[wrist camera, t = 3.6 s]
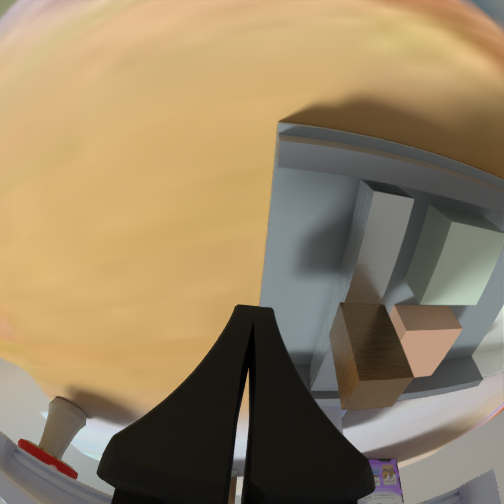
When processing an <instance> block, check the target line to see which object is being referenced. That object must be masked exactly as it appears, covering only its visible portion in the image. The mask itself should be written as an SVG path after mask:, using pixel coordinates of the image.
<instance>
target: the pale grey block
mask: <svg viewBox="0 0 504 504" xmlns="http://www.w3.org/2000/svg"><path fill="white" fill-rule="evenodd" d="M413 203H414V198H413V197H411V196H410V195H409V194H407V193H406V192H405V191H403V190H402V189H401V188H399V187H398V186H395V185H391V184H385V183H380V182H375V181H369V180H364V179H360V183H359V188H358V193H357V198H356V203H355V208H354V213H353V217H352V222H351V226H350V231H349V235H348V239H347V243H346V247H345V251H344V255H343V259H342V263H341V267H340V271H339V274H338V278H337V282H336V285H335V289H334V292H333V296H332V299H331V303H330V306H329V309H328V313H327V316H326V319H325V322H324V325H323V329H322V332H321V335H320V338H319V341H318V344H317V347H316V350H315V353H314V355H313V358H312V361H311V364H310V367H309V376H310V387H311V391H339V397H340V403H341V410H355V409H369V408H379V407H389V406H392V405H393V404H394V403H395V402H396V400H397V399H398V398H399V397H400V395H401V394H402V393H403V391H404V390H405V389H406V388H407V386H408V385H409V384H410V382H411V381H412V380H413V378H414V375H413V372H412V370H411V367H410V364H409V362H408V359H407V357H406V354H405V352H404V349H403V347H402V344H401V342H400V339H399V337H398V335H397V332H396V330H395V328H394V325H393V323H392V321H391V318H390V316H389V314H388V312H387V309H386V307H385V305H384V304H380V303H381V301H382V298H383V296H384V293H385V290H386V288H387V285H388V283H389V280H390V277H391V274H392V272H393V269H394V266H395V263H396V260H397V257H398V254H399V251H400V248H401V245H402V242H403V238H404V235H405V232H406V228H407V225H408V221H409V218H410V214H411V210H412V207H413Z"/></svg>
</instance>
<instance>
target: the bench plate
mask: <svg viewBox="0 0 504 504" xmlns="http://www.w3.org/2000/svg"><path fill="white" fill-rule="evenodd" d="M360 179H364V180H369V181H375V182H380V183H385V184H391V185H395V186H398V187H399V188H401V189H402V190H403V191H405V192H406V193H407V194H409V195H410V196H411V197H413V198H414V203H413V207H412V210H411V214H410V218H409V221H408V225H407V228H406V232H405V235H404V238H403V242H402V245H401V248H400V251H399V254H398V257H397V260H396V263H395V266H394V269H393V272H392V274H391V277H390V280H389V283H388V285H387V288H386V290H385V293H384V296H383V298H382V301H381V303H380V304H384V305H385V307H386V309H387V312H388V314H389V315H390V313H391V310H392V308H393V306H394V305H420V304H419V303H418V301H417V299H416V298H415V296H414V294H413V293H412V291H411V289H410V288H409V286H408V284H407V283H406V281H405V280H404V279H405V277H406V274H407V271H408V269H409V266H410V263H411V260H412V258H413V255H414V252H415V249H416V246H417V243H418V240H419V237H420V234H421V230H422V227H423V224H424V220H425V217H426V213H427V210H428V206H429V204H433V205H438V206H442V207H446V208H450V209H455V210H459V211H463V212H467V213H470V214H474V215H478V216H482V217H485V218H486V219H488V220H489V221H490V222H492V223H493V224H494V225H496V226H497V227H498V228H499V229H501V230H502V231H503V232H504V179H502V178H500V177H497V176H495V175H493V174H490V173H488V172H485V171H483V170H481V169H478V168H475V167H473V166H470V165H468V164H465V163H462V162H459V161H457V160H454V159H451V158H448V157H445V156H442V155H439V154H436V153H433V152H429V151H426V150H423V149H419V148H416V147H412V146H409V145H405V144H401V143H397V142H393V141H389V140H385V139H381V138H377V137H372V136H368V135H363V134H358V133H353V132H348V131H342V130H337V129H331V128H325V127H318V126H311V125H304V124H296V123H288V122H278V126H277V137H276V148H275V159H274V169H273V179H272V190H271V200H270V210H269V219H268V229H267V239H266V248H265V257H264V267H263V276H262V285H261V294H260V303H259V306H260V307H272V309H273V310H274V313H275V318H276V321H277V325H278V328H279V331H280V334H281V337H282V339H283V342H284V344H285V346H286V349H287V351H288V353H289V356H290V358H291V360H292V362H293V364H294V366H295V368H296V370H297V372H298V374H299V375H300V377H301V379H302V381H303V382H304V384H305V386H306V387H307V389H308V390H309V392H310V394H311V395H312V397H313V398H314V399H315V401H316V402H317V404H318V405H319V406H338V405H341V403H340V397H339V391H311V387H310V376H309V367H310V364H311V361H312V358H313V355H314V353H315V350H316V347H317V344H318V341H319V338H320V335H321V332H322V329H323V325H324V322H325V319H326V316H327V313H328V309H329V306H330V303H331V299H332V296H333V292H334V289H335V285H336V282H337V278H338V274H339V271H340V267H341V263H342V259H343V255H344V251H345V247H346V243H347V239H348V235H349V231H350V226H351V222H352V217H353V213H354V208H355V203H356V198H357V193H358V188H359V183H360ZM503 305H504V245H503V247H502V250H501V253H500V255H499V258H498V260H497V262H496V265H495V267H494V269H493V272H492V274H491V276H490V278H489V280H488V282H487V285H486V287H485V289H484V291H483V293H482V295H481V297H480V299H479V301H478V302H477V304H476V305H425V306H449V308H450V309H451V311H452V312H453V314H454V315H455V317H456V318H457V320H458V322H459V323H460V325H461V326H462V328H463V329H462V331H461V332H460V334H459V336H458V337H457V339H456V340H455V342H454V343H453V345H452V347H451V348H450V350H449V351H448V353H447V354H446V355H445V357H444V358H443V360H442V361H441V363H440V364H439V365H438V367H437V368H436V370H435V371H434V372H433V374H432V375H431V376H423V377H415V378H413V380H412V381H411V382H410V384H409V385H408V386H407V388H406V389H405V390H404V391H403V393H402V394H401V395H400V397H399V398H398V399H397V400H396V401H401V400H409V399H416V398H422V397H428V396H434V395H439V394H444V393H449V392H454V391H458V390H463V389H467V388H471V387H475V386H478V385H479V384H480V382H481V381H482V380H483V377H482V375H481V373H480V371H479V369H478V367H477V365H476V363H475V361H474V359H473V358H472V354H473V353H474V352H475V350H476V349H477V347H478V346H479V344H480V343H481V341H482V340H483V338H484V337H485V335H486V334H487V332H488V330H489V329H490V327H491V326H492V324H493V322H494V321H495V319H496V317H497V316H498V314H499V312H500V310H501V308H502V307H503Z"/></svg>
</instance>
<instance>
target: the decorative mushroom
mask: <svg viewBox="0 0 504 504" xmlns="http://www.w3.org/2000/svg"><path fill="white" fill-rule="evenodd" d="M85 425H86V414H85V413H84V412H83V411H82V410H81V409H79V408H78V407H77V406H75V405H73V404H72V403H70V402H68V401H66V400H63V399H60V398H55V399H54V400H53V401H51V402H50V403H49V413H48V418H47V422H46V425H45V429H44V433H43V436H42V439H41V442H40V444H39V446H37V445H36V444H34V443H32V442H30V441H28V440H24V439H20V440H19V441H18V446H19V447H20V448H21V449H23V450H24V451H26V452H27V453H29V454H31V455H32V456H34V457H35V458H37V459H39V460H40V461H42V462H43V463H45V464H47V465H49V466H50V467H52V468H54V469H56V470H57V471H59V472H61V473H63V474H65V475H67V476H69V477H71V478H73V479H75V480H76V479H77V476H78V473H77V472H76V471H75V470H74V469H73V468H72V467H71V466H69V465H68V464H67V463H65V462H63V461H62V460H61V458H62V456H63V454H64V452H65V450H66V449H67V447H68V445H69V444H70V442H71V441H72V439H73V438H74V436H75V435H76V434H77V432H78V431H79V430H80V429H81V428H83V427H84V426H85Z"/></svg>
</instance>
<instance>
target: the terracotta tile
mask: <svg viewBox="0 0 504 504" xmlns="http://www.w3.org/2000/svg"><path fill="white" fill-rule="evenodd" d="M389 316H390V318H391V321H392V323H393V325H394V328H395V330H396V332H397V335H398V337H399V339H400V342H401V344H402V347H403V349H404V352H405V354H406V357H407V359H408V362H409V364H410V367H411V370H412V372H413V375H414V378H415V377H423V376H431V375H432V374H433V372H434V371H435V370H436V368H437V367H438V365H439V364H440V363H441V361H442V360H443V358H444V357H445V355H446V354H447V353H448V351H449V350H450V348H451V347H452V345H453V343H454V342H455V340H456V339H457V337H458V336H459V334H460V332H461V331H462V329H463V328H462V326H461V325H460V323H459V322H458V320H457V318H456V317H455V315H454V314H453V312H452V311H451V309H450V308H449V306H425V305H394V306H393V308H392V310H391V313H390V315H389Z"/></svg>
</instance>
